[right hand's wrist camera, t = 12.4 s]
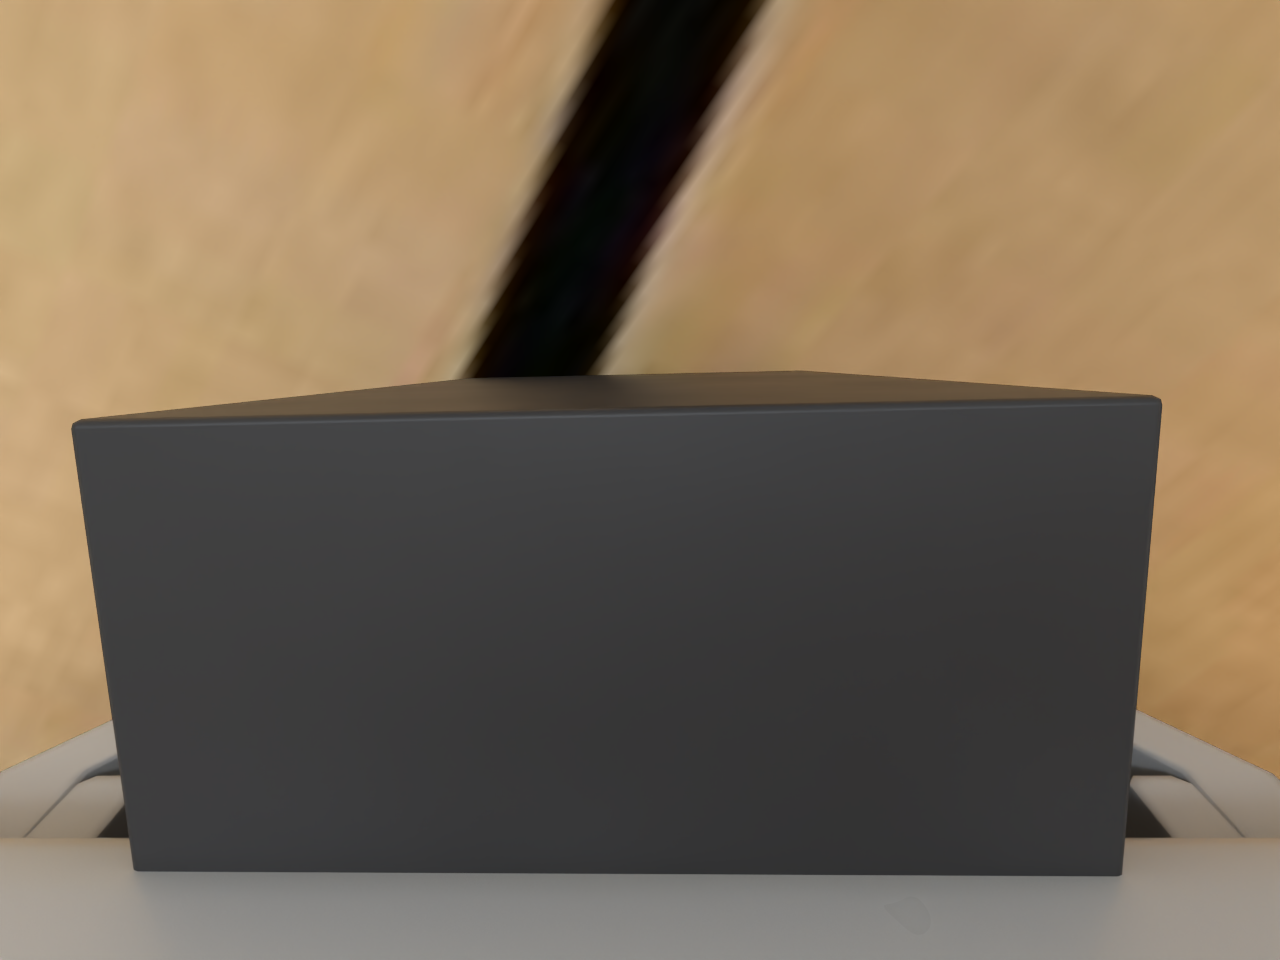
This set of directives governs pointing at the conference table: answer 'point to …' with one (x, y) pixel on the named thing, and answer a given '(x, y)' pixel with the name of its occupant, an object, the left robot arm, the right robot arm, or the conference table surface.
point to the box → (627, 625)
